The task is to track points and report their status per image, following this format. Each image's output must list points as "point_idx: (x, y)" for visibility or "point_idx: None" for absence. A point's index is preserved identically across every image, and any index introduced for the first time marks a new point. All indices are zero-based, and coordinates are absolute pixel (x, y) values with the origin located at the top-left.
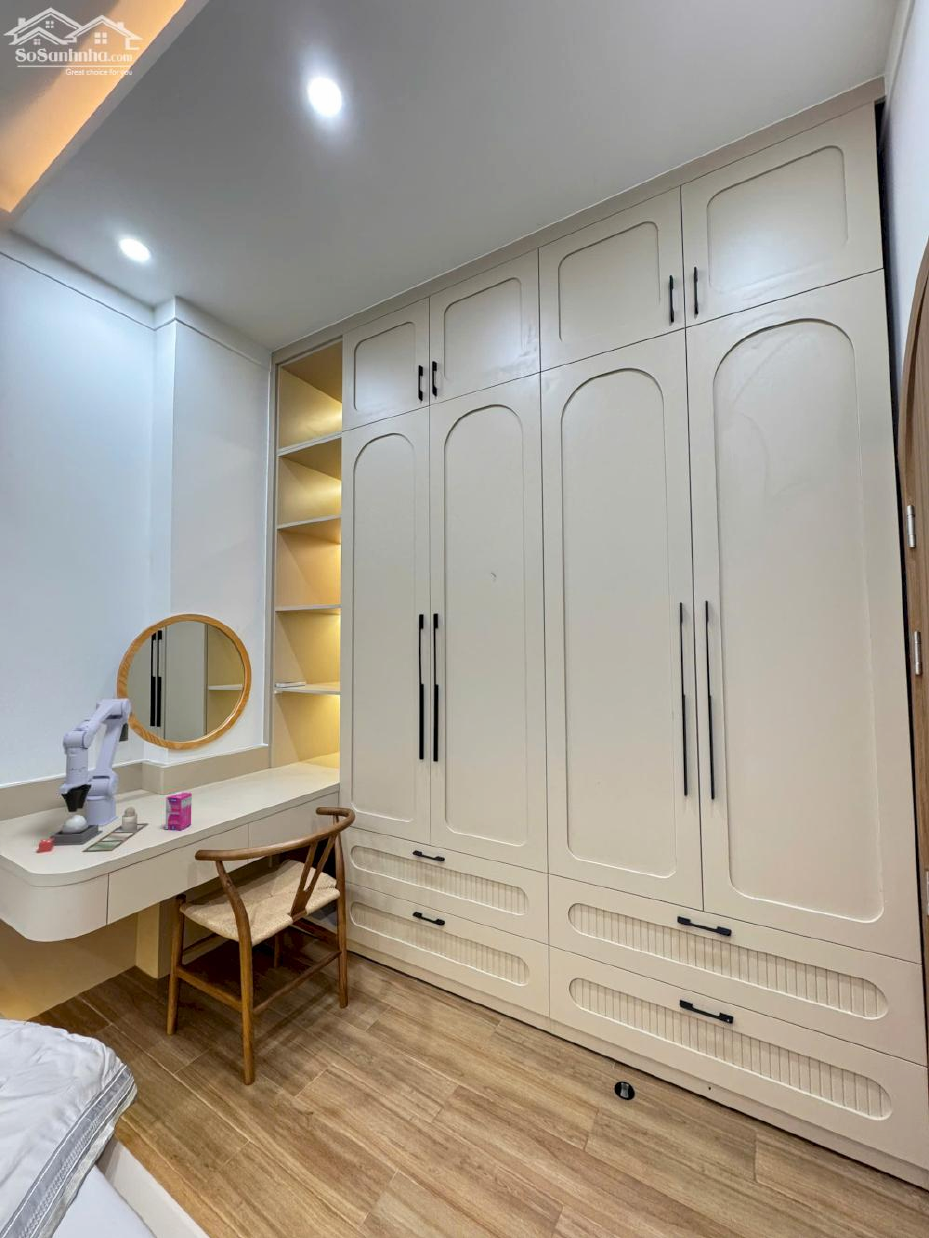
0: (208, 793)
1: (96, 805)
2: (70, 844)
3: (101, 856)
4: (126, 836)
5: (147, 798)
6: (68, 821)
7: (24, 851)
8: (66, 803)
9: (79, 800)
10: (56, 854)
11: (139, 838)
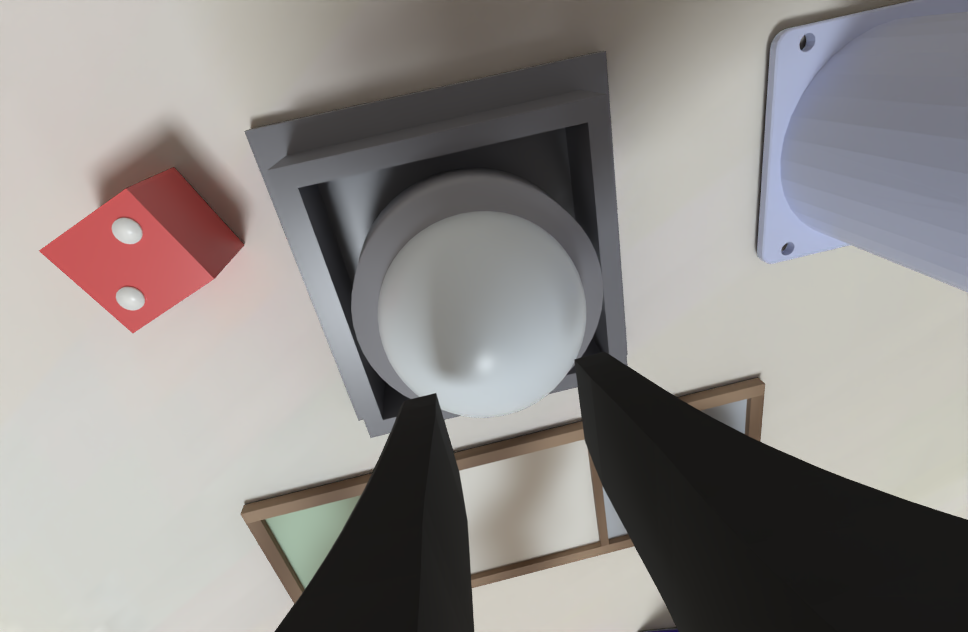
0: None
1: (963, 248)
2: (328, 341)
3: (236, 623)
4: (536, 542)
5: None
6: (397, 332)
7: (75, 8)
8: (353, 517)
9: (640, 516)
10: (153, 375)
11: (518, 604)
